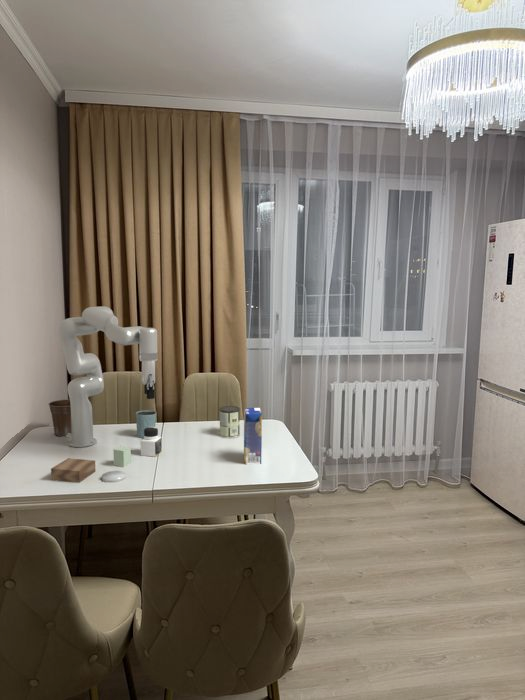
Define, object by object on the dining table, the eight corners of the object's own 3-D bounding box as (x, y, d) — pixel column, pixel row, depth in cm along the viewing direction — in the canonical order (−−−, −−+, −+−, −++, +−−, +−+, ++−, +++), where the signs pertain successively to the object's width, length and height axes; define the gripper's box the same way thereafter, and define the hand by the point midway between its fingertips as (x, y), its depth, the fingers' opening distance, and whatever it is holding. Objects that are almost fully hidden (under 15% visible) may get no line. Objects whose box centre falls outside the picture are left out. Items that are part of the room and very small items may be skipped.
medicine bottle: (155, 457, 227) (155, 430, 225) (140, 455, 228) (140, 429, 227) (161, 451, 234) (161, 426, 232) (147, 450, 235) (146, 425, 234)
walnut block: (51, 480, 200) (51, 468, 199) (68, 469, 211) (68, 458, 211) (79, 483, 197) (79, 471, 197) (95, 472, 209) (95, 460, 208)
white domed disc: (97, 481, 200) (96, 477, 200) (111, 473, 208) (111, 469, 208) (116, 484, 197) (116, 480, 197) (130, 476, 205) (130, 472, 205)
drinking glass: (132, 435, 257) (131, 412, 255) (148, 431, 265) (148, 409, 263) (144, 440, 250) (143, 416, 249) (160, 435, 258) (160, 412, 256)
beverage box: (258, 455, 231) (259, 407, 228) (261, 464, 220) (261, 414, 217) (243, 455, 230) (244, 407, 227) (245, 464, 219) (245, 414, 216)
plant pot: (47, 431, 263) (46, 400, 261) (80, 427, 271) (79, 397, 269) (52, 440, 249) (51, 407, 247) (87, 435, 257) (86, 404, 255)
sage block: (113, 465, 216) (113, 449, 215) (121, 461, 221) (120, 445, 220) (123, 467, 214) (123, 450, 214) (130, 463, 219) (130, 447, 218)
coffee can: (227, 431, 267) (227, 404, 265) (243, 434, 262) (243, 407, 260) (215, 436, 258) (215, 408, 256) (232, 439, 253) (232, 411, 251)
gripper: (137, 354, 226) (138, 392, 228) (141, 360, 209) (142, 401, 212) (155, 353, 228) (155, 391, 230) (160, 359, 212) (160, 400, 214)
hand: (149, 396), depth 221 cm, fingers open, 9 cm apart
